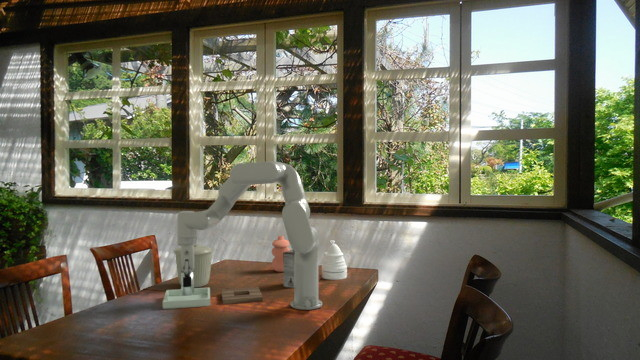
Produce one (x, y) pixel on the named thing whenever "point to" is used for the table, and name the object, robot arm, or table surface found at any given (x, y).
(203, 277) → the canister
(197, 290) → the tray
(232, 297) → the wooden base board
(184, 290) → the lock pin
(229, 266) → the table surface
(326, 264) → the honey pot
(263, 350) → the table surface
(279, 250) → the ceramic vessels
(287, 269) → the coffee box
